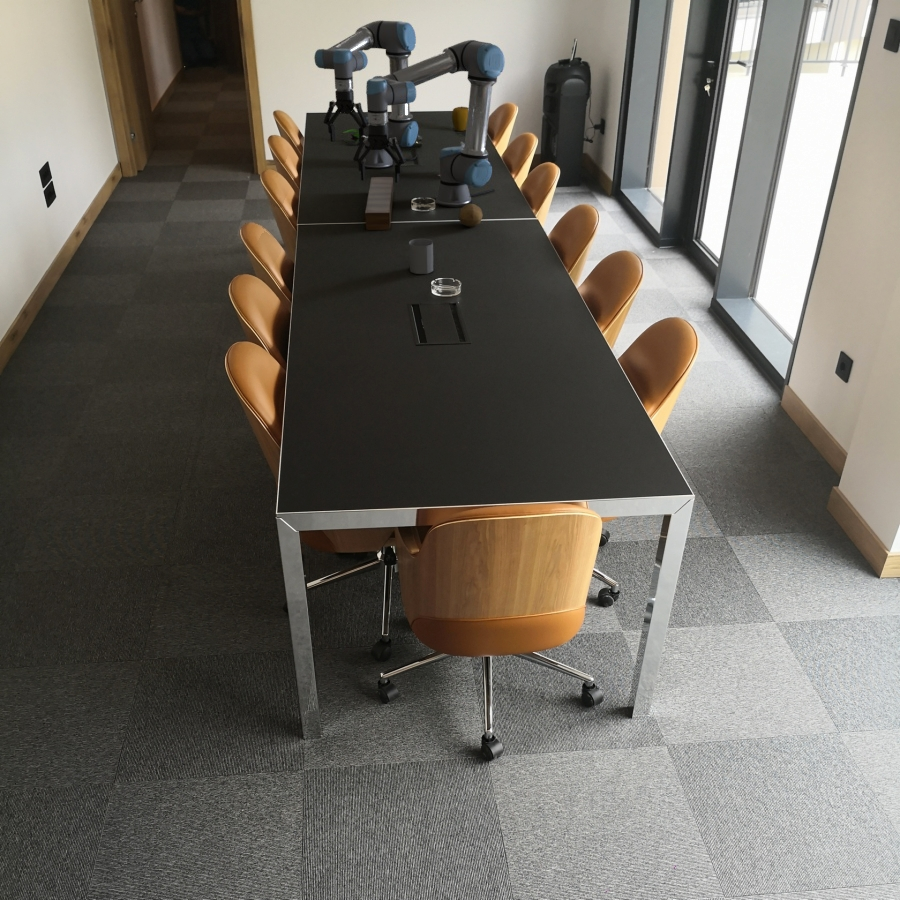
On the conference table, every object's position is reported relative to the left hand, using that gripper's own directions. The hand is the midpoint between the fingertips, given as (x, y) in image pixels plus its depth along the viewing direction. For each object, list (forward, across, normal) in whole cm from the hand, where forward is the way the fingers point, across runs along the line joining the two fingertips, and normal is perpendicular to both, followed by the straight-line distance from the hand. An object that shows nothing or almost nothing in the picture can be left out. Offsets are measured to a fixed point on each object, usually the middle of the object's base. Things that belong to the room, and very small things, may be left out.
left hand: (347, 142), depth 373 cm
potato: (+23, +64, -21) cm, 71 cm away
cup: (+24, +64, -74) cm, 100 cm away
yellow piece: (+21, +4, +136) cm, 137 cm away
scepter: (+22, -33, +92) cm, 100 cm away
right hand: (+4, +32, -37) cm, 49 cm away
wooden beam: (+23, +22, -15) cm, 35 cm away
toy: (+22, +34, +42) cm, 59 cm away
